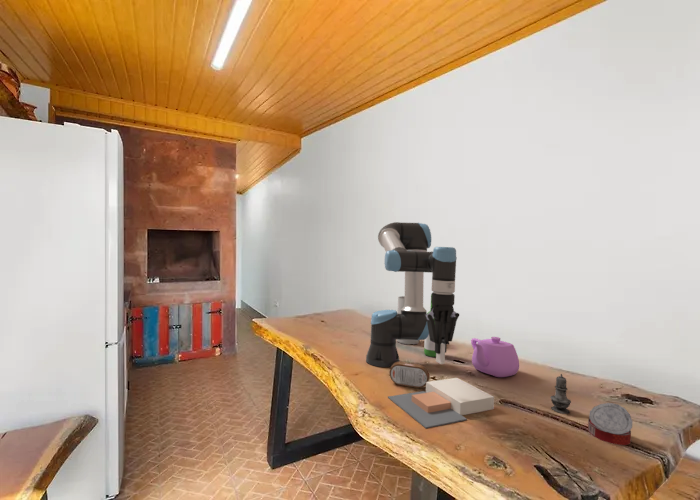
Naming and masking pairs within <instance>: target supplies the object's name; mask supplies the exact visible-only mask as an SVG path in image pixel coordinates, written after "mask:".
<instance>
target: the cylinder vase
mask: <svg viewBox="0 0 700 500" xmlns="http://www.w3.org/2000/svg"><path fill="white" fill-rule="evenodd" d="M404 302H405V295H402V296H397V314H401V309H402V308H403V307H404ZM396 342H398V343H399V344H401V345H402V344H403V345H408V344H413V345H417V344H419V342H420V340H400V339H397V340H396Z"/></svg>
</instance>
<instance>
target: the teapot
mask: <svg viewBox="0 0 700 500" xmlns="http://www.w3.org/2000/svg"><path fill="white" fill-rule="evenodd" d="M470 341H471V343H470V344H471V346H472V349H473V352H472V356H471V363H472V366H473V368H474V369H475V370H477V371H479V372H481V373H485V374H487V375H491V376H493V377H495V378H507V377H512V376H514V375H516V374H517V373H518V371H519V370H520V361H519V357H518V354H517V350H516V348H515V346H514V344H513V343H510V342H507V341H503V340H501V337H499V336H491V338H486V339H479V338H475V337H474V338H471V339H470Z"/></svg>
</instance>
